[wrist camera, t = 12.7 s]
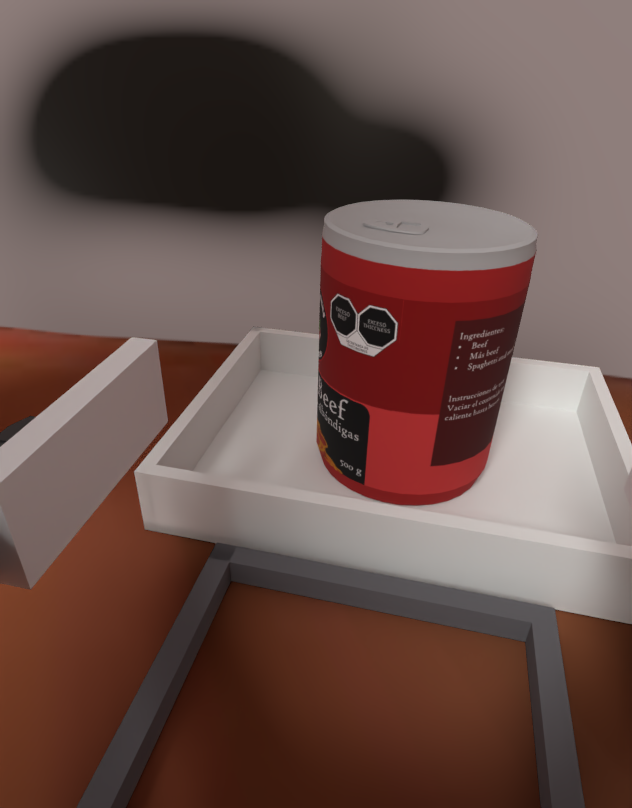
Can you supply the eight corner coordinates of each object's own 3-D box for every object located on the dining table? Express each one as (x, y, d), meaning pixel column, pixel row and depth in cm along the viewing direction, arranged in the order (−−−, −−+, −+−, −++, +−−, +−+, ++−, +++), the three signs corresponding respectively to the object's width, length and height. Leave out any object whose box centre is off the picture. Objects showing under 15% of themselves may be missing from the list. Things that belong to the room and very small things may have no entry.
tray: (144, 529, 23) (134, 471, 22) (255, 371, 35) (253, 326, 33) (651, 628, 20) (683, 567, 18) (583, 415, 31) (599, 367, 30)
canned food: (318, 409, 30) (325, 195, 25) (468, 416, 30) (511, 202, 24) (310, 506, 24) (316, 245, 18) (501, 516, 24) (570, 255, 18)
